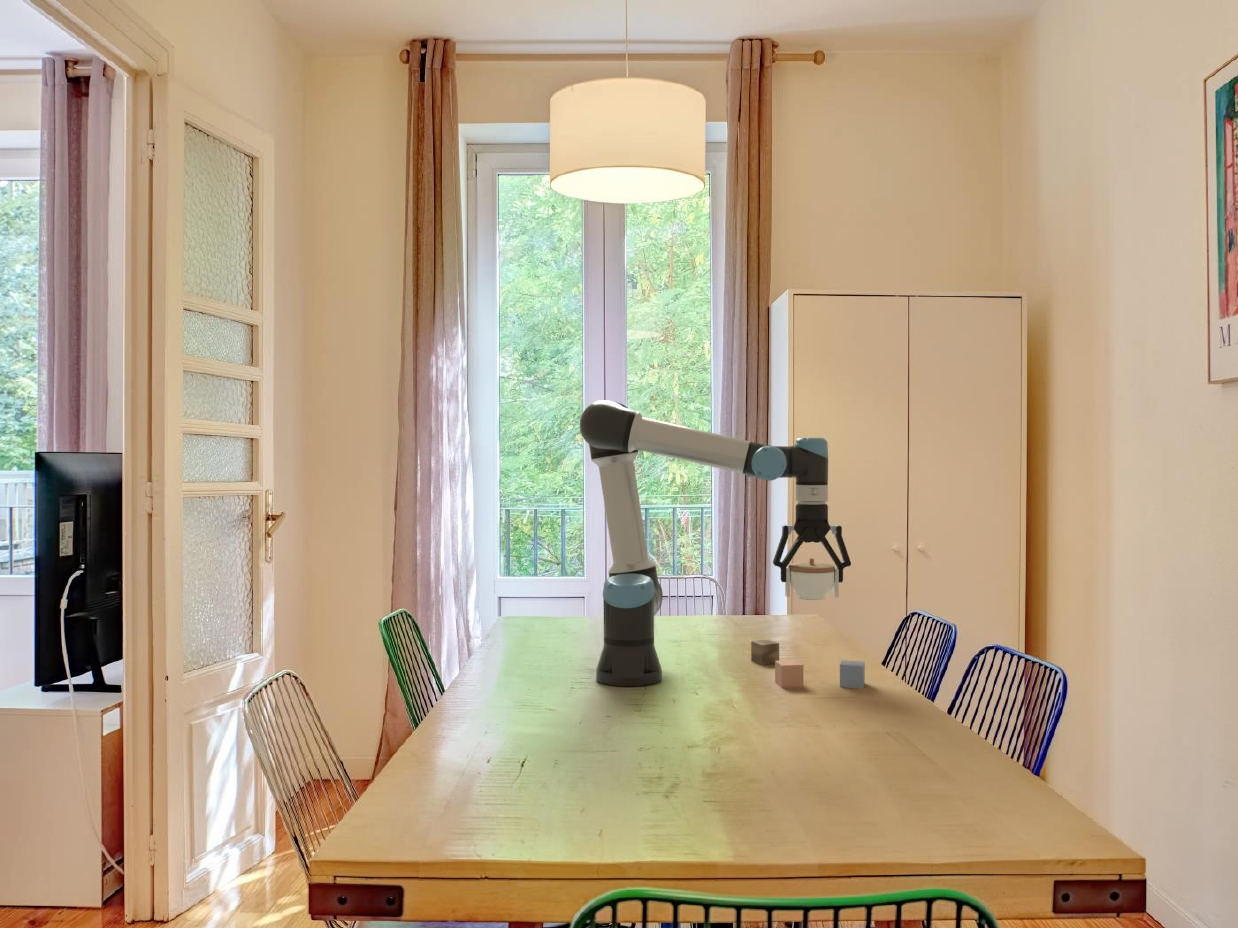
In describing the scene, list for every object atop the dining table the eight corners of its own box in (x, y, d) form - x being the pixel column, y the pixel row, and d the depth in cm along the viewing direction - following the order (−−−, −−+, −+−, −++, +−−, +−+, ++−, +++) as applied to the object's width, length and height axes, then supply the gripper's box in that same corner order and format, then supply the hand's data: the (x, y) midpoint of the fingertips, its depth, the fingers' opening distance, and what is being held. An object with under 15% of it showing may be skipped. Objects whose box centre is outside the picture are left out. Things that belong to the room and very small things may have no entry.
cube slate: (839, 687, 218) (839, 664, 218) (841, 681, 223) (841, 659, 223) (862, 688, 216) (863, 666, 216) (864, 683, 221) (864, 661, 221)
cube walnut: (761, 665, 240) (761, 644, 240) (751, 661, 245) (751, 641, 245) (779, 663, 242) (779, 643, 242) (768, 659, 247) (768, 639, 246)
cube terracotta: (781, 687, 217) (781, 665, 217) (775, 682, 222) (775, 660, 222) (803, 687, 218) (803, 664, 218) (796, 681, 223) (796, 659, 223)
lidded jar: (822, 603, 225) (822, 562, 225) (780, 598, 232) (780, 558, 231) (842, 597, 234) (842, 558, 233) (801, 593, 240) (801, 555, 240)
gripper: (764, 503, 229) (764, 598, 229) (864, 503, 228) (864, 598, 228) (760, 502, 236) (760, 593, 237) (858, 502, 235) (858, 593, 236)
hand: (811, 596), depth 233 cm, fingers closed on lidded jar, 11 cm apart
